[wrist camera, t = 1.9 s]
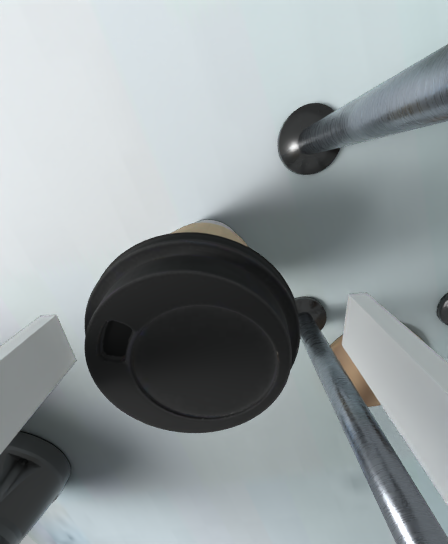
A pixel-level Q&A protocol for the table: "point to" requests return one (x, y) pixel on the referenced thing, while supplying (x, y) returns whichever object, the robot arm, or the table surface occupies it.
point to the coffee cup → (191, 330)
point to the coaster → (355, 373)
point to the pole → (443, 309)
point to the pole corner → (368, 439)
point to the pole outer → (367, 115)
